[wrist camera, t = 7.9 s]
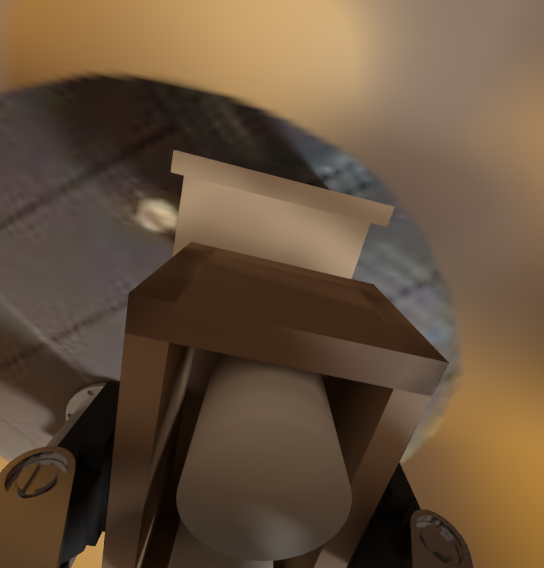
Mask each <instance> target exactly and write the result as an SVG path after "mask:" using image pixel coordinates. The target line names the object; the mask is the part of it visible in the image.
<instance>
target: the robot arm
mask: <svg viewBox="0 0 544 568" xmlns="http://www.w3.org/2000/svg"><path fill="white" fill-rule="evenodd" d="M119 387H120V382H116V381H109V382H107V383H97V384H92V385H89V386H86V387H84V388H82V389H81V390H79V391H78V392H77V393H76V394H75V395H74V396H73V397H72V398H71V400H70V401H69V403H68V405H67V407H66V412H65V416H66V423H65V424H64V425H63V426H62V428H61V429H60V430H59V431H58V432H57V434H56V435H55V436H54V437H53V438H52V440H51V441H50V442H49V443H48V444H47V446H45V447H41V448H36V449H33V450H30V451H28V452H26V453H23V454H21V455H20V456H18V457H17V458H15V459H14V460H12V461H11V462H10V463H9V464H8V465H7V466H6V467H5V468H4V469H3V470H2V471H1V473H0V568H71V567H72V564H73V563H74V561H75V559H76V556H77V555H78V554H80V553H81V552H83V551H84V549H85V547H86V545H90V546H96V544H97V541H98V539H99V537H100V535H101V533H102V531H103V532H105V529H106V519H107V509H108V499H109V488H110V478H111V468H112V458H113V448H114V438H115V428H116V418H117V408H118V398H119ZM346 568H474V567H473V563H472V558H471V554H470V551H469V549H468V546H467V544H466V542H465V540H464V539H463V537H462V535H461V534H460V533H459V532H458V531H457V530H456V528H455V527H454V526H453V525H452V524H451V523H450V522H449V521H447V520H446V519H445V518H443V517H442V516H440V515H439V514H437V513H435V512H432V511H430V510H426V509H420V507H419V505H418V502H417V500H416V498H415V496H414V494H413V492H412V489H411V487H410V485H409V483H408V481H407V478H406V476H405V474H404V472H403V470H402V467H401V465H400V463H398V465H397V467H396V469H395V471H394V473H393V475H392V477H391V479H390V481H389V483H388V485H387V487H386V489H385V491H384V493H383V495H382V497H381V499H380V501H379V503H378V505H377V507H376V509H375V511H374V513H373V515H372V517H371V519H370V521H369V523H368V525H367V527H366V529H365V531H364V533H363V535H362V537H361V539H360V541H359V543H358V545H357V547H356V549H355V551H354V553H353V555H352V557H351V559H350V561H349V563H348V565H347V567H346Z"/></svg>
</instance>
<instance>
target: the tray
mask: <svg viewBox="0 0 544 568" xmlns="http://www.w3.org/2000/svg"><path fill="white" fill-rule="evenodd" d="M448 363H449V362H448V361H447V360H446V359H445V358H444V357H443V356H442V355H441V354H440V353H439V352H438V351H437V350H436V349H435V348H434V347H433V346H432V345H431V344H430V343H429V342H428V341H427V340H426V338H425V337H424V336H423V335H422V334H421V333H420V332H419V331H418V330H417V329H416V328H415V327H414V326H413V325H412V324H411V323H410V322H409V321H408V320H407V319H406V318H405V317H404V316H403V315H402V314H401V313H400V311H399V310H398V309H397V308H396V307H395V306H394V305H393V304H392V303H391V302H390V301H389V300H388V299H387V298H386V297H385V296H384V295H383V294H382V293H381V292H380V291H379V290H378V289H377V288H376V287H375V286H374V284H369V283H365V282H361V281H357V280H352V279H348V278H344V277H340V276H335V275H331V274H327V273H323V272H318V271H314V270H310V269H306V268H301V267H297V266H293V265H289V264H284V263H280V262H276V261H272V260H267V259H263V258H259V257H255V256H250V255H246V254H242V253H238V252H233V251H229V250H225V249H221V248H216V247H212V246H208V245H204V244H199V243H195V242H190V243H189V244H188V245H187V246H185V247H184V248H183V249H182V250H181V251H179V252H178V253H177V254H176V255H175V256H173V257H172V258H171V259H170V260H168V261H167V262H166V263H165V264H164V265H162V266H161V267H160V268H159V269H158V270H156V271H155V272H154V273H153V274H152V275H150V276H149V277H148V278H147V279H145V280H144V281H143V282H142V283H141V284H139V285H138V286H137V287H136V288H135V289H133V290H132V291H131V292H130V293H129V297H128V307H127V317H126V327H125V337H124V347H123V357H122V367H121V377H120V387H119V398H118V408H117V418H116V428H115V438H114V448H113V458H112V468H111V478H110V488H109V499H108V509H107V519H106V529H105V539H104V549H103V559H102V568H346V567H347V565H348V563H349V561H350V559H351V557H352V555H353V553H354V551H355V549H356V547H357V545H358V543H359V541H360V539H361V537H362V535H363V533H364V531H365V529H366V527H367V525H368V523H369V521H370V519H371V517H372V515H373V513H374V511H375V509H376V507H377V505H378V503H379V501H380V499H381V497H382V495H383V493H384V491H385V489H386V487H387V485H388V483H389V481H390V479H391V477H392V475H393V473H394V471H395V469H396V467H397V465H398V463H399V461H400V459H401V457H402V455H403V453H404V451H405V449H406V447H407V445H408V443H409V441H410V439H411V437H412V435H413V433H414V431H415V429H416V427H417V425H418V423H419V421H420V419H421V417H422V415H423V413H424V411H425V409H426V407H427V405H428V403H429V401H430V399H431V397H432V395H433V393H434V391H435V389H436V387H437V385H438V383H439V381H440V379H441V377H442V375H443V373H444V371H445V369H446V367H447V365H448Z"/></svg>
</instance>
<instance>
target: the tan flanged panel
mask: <svg viewBox="0 0 544 568" xmlns="http://www.w3.org/2000/svg"><path fill="white" fill-rule="evenodd" d="M171 172H172V173H176V174H180V175H184V180H183V187H182V194H181V201H180V208H179V215H178V222H177V229H176V236H175V243H174V250H173V256H175V255H176V254H177V253H178V252H179V251H181V250H182V249H183V248H184V247H185V246H187V245H188V244H189V243H190V242H195V243H199V244H204V245H208V246H212V247H216V248H221V249H225V250H229V251H233V252H238V253H242V254H246V255H250V256H255V257H259V258H263V259H267V260H272V261H276V262H280V263H284V264H289V265H293V266H297V267H301V268H306V269H310V270H314V271H318V272H323V273H327V274H331V275H335V276H340V277H344V278H348V279H352V276H353V273H354V270H355V267H356V264H357V261H358V258H359V255H360V253H361V250H362V247H363V244H364V241H365V238H366V235H367V232H368V229H369V227H370V224H371V223H374V224H378V225H382V226H386V227H388V224H389V221H390V218H391V216H392V213H393V210H394V207H393V206H389V205H385V204H381V203H377V202H373V201H370V200H366V199H362V198H358V197H354V196H350V195H346V194H343V193H339V192H335V191H331V190H327V189H323V188H319V187H316V186H312V185H308V184H304V183H300V182H296V181H292V180H289V179H285V178H281V177H277V176H273V175H269V174H265V173H262V172H258V171H254V170H250V169H246V168H242V167H238V166H235V165H231V164H227V163H223V162H219V161H215V160H211V159H207V158H204V157H200V156H196V155H192V154H188V153H184V152H180V151H177V150H173V158H172V166H171Z"/></svg>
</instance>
